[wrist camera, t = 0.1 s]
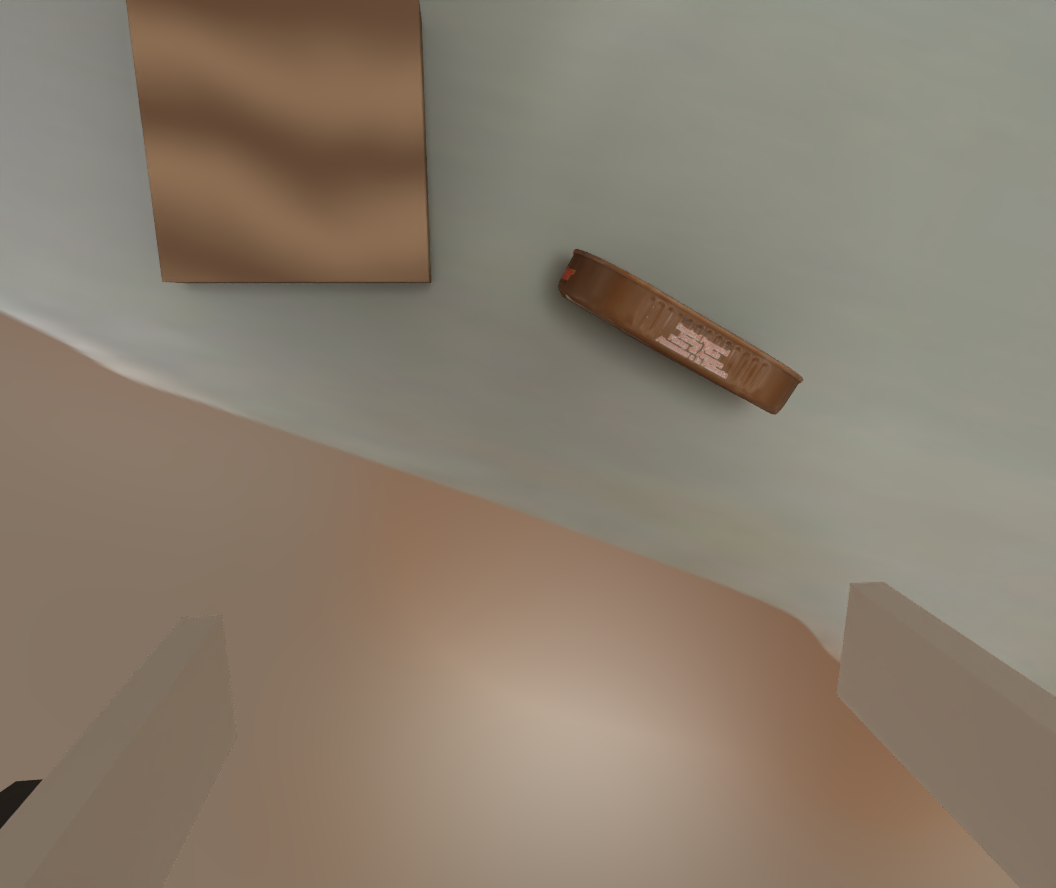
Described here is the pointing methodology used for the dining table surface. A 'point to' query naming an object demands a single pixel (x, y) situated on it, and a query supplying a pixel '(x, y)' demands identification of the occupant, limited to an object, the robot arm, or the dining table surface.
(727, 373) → the tin
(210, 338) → the dining table surface
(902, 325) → the dining table surface
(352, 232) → the podium
